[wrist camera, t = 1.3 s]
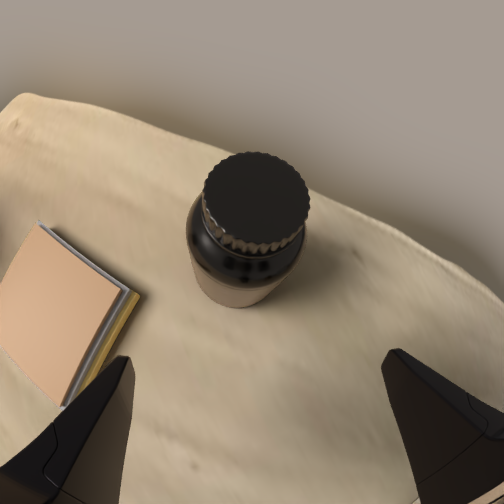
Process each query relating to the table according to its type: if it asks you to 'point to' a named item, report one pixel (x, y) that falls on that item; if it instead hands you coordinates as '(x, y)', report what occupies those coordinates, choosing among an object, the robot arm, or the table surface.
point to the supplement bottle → (247, 228)
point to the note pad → (59, 315)
